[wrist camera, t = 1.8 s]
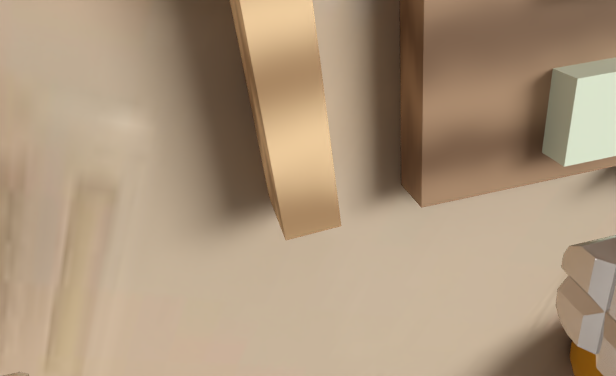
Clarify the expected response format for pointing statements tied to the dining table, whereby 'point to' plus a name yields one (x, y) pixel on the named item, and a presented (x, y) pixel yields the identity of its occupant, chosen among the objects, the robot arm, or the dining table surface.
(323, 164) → the wooden plank piece
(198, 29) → the dining table surface
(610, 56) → the board
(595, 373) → the apple
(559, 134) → the tile
